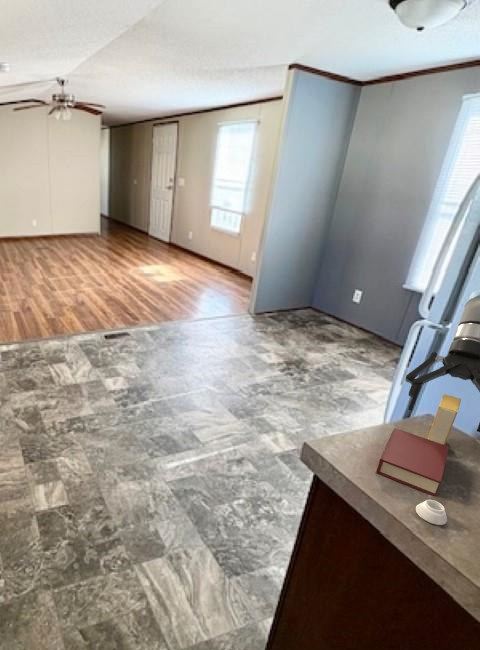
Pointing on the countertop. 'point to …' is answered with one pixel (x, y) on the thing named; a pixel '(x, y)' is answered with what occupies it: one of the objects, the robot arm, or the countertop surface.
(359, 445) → the countertop surface
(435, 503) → the upside-down white bowl
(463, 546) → the countertop surface
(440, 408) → the small book
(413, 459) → the big book
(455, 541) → the countertop surface
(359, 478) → the countertop surface
